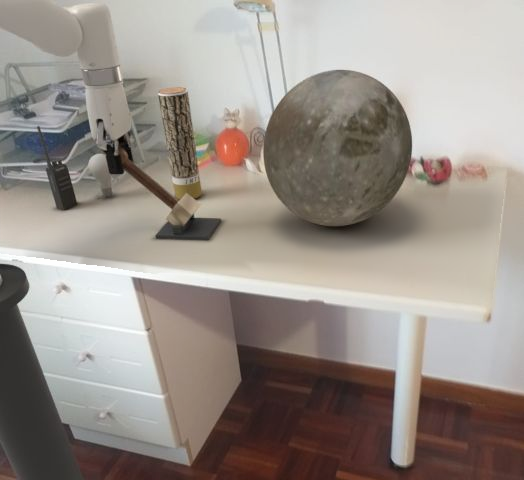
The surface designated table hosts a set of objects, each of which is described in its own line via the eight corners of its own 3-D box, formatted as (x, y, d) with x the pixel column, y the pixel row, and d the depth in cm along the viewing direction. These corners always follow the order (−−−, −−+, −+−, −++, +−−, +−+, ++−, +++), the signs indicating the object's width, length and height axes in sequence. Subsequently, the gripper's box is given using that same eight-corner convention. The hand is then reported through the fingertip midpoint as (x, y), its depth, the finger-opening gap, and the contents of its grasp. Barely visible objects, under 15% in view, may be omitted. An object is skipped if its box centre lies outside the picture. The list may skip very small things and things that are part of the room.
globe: (291, 192, 141) (285, 58, 124) (415, 199, 131) (427, 55, 114) (248, 244, 118) (233, 89, 101) (394, 256, 109) (405, 88, 92)
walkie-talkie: (64, 210, 142) (40, 128, 130) (55, 208, 144) (31, 126, 132) (79, 204, 145) (57, 122, 134) (70, 202, 147) (48, 121, 135)
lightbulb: (118, 199, 146) (108, 156, 139) (94, 202, 146) (83, 159, 139) (121, 191, 151) (112, 149, 144) (98, 193, 151) (88, 151, 144)
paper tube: (170, 200, 143) (151, 93, 128) (184, 190, 148) (168, 86, 133) (193, 202, 140) (177, 94, 126) (207, 192, 145) (192, 87, 131)
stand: (221, 221, 129) (219, 211, 128) (207, 240, 121) (206, 229, 120) (171, 220, 132) (170, 210, 131) (155, 238, 124) (153, 227, 123)
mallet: (188, 219, 129) (200, 204, 126) (179, 230, 124) (192, 215, 121) (109, 154, 124) (120, 137, 121) (97, 163, 119) (108, 145, 116)
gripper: (104, 69, 119) (122, 157, 129) (64, 86, 105) (88, 183, 116) (137, 68, 117) (152, 157, 128) (101, 85, 104) (122, 183, 114)
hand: (121, 168), depth 122 cm, fingers closed on mallet, 4 cm apart
